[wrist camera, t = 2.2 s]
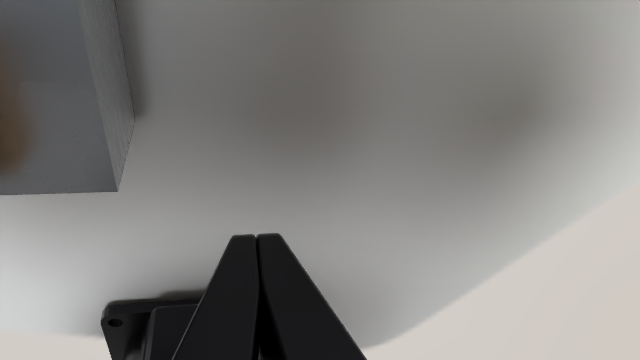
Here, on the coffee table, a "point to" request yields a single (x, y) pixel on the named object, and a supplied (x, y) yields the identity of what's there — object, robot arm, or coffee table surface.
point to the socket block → (62, 97)
